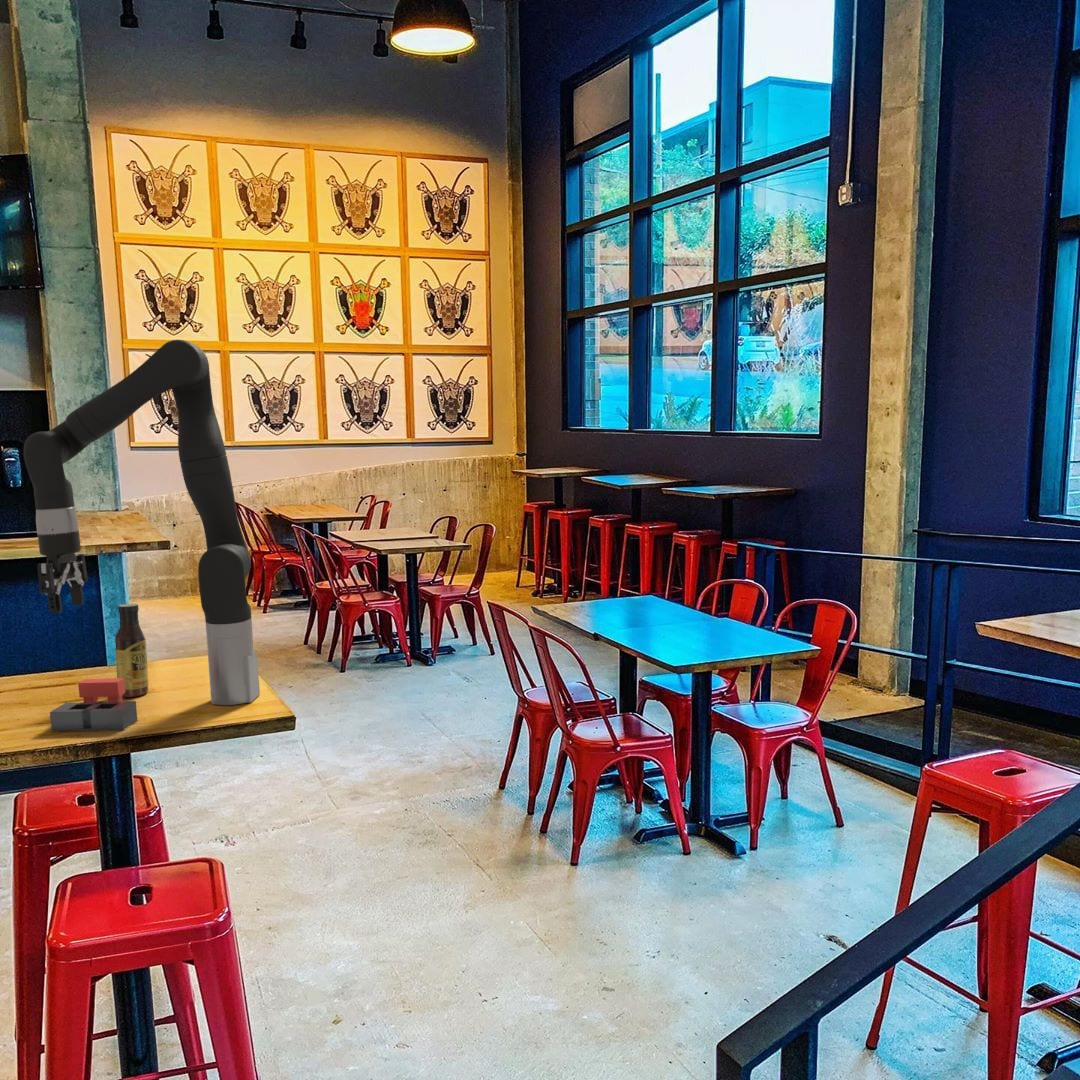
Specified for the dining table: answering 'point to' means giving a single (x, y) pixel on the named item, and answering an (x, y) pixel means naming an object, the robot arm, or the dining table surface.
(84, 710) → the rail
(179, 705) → the dining table surface
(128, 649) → the sauce bottle
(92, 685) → the red block
